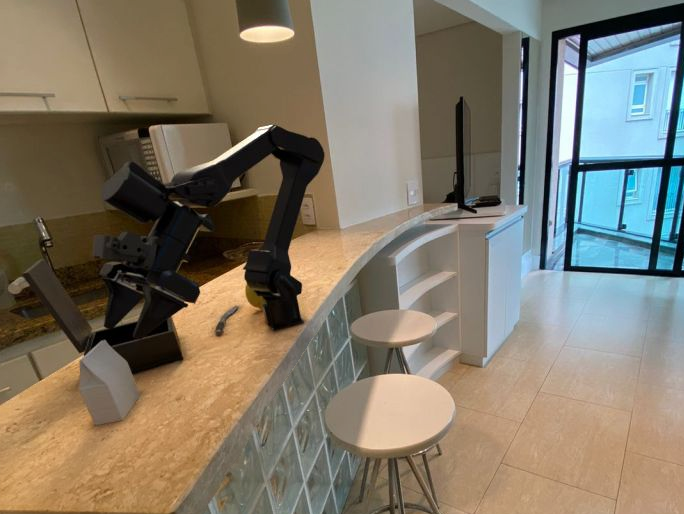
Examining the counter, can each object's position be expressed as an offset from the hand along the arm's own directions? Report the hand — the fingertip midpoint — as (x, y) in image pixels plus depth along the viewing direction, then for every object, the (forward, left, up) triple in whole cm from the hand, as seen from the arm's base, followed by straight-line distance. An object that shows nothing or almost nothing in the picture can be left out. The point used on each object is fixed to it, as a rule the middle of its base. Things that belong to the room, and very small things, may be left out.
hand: (121, 333), depth 59 cm
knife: (-16, -24, -11) cm, 31 cm away
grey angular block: (+4, +2, -11) cm, 12 cm away
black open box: (+1, -15, -11) cm, 19 cm away
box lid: (+8, -15, +3) cm, 17 cm away
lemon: (-24, -25, -11) cm, 37 cm away
